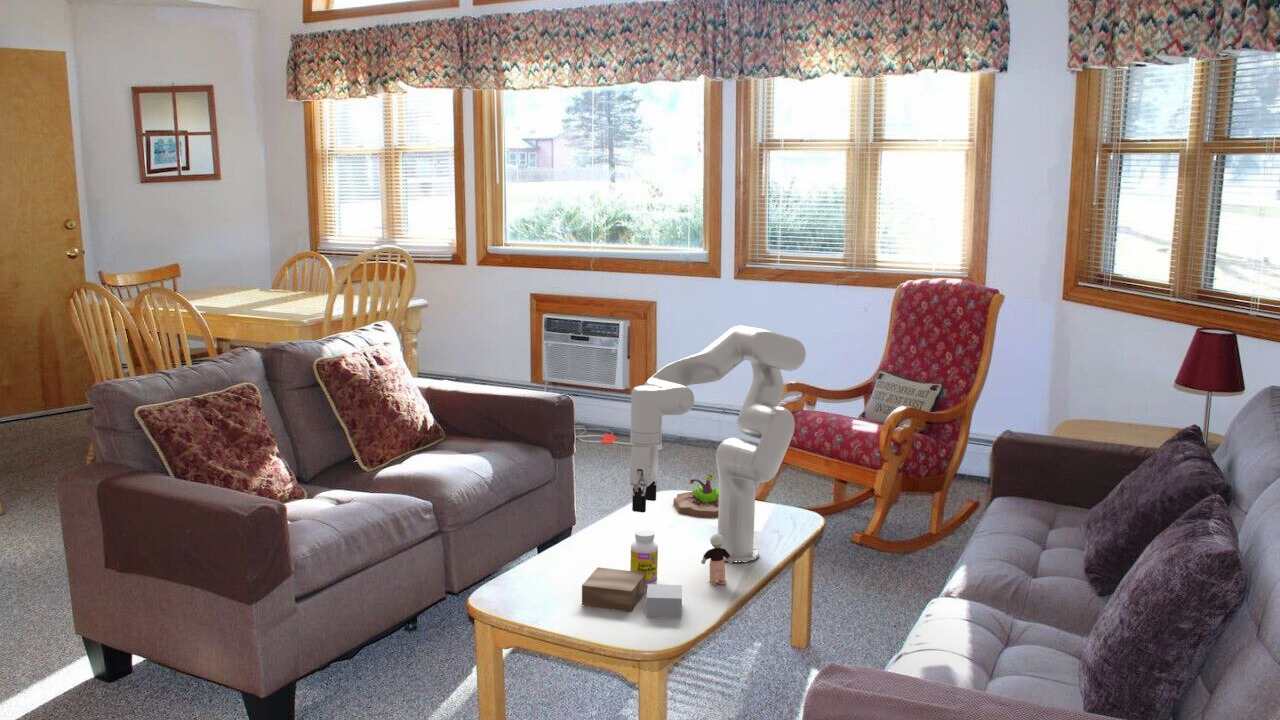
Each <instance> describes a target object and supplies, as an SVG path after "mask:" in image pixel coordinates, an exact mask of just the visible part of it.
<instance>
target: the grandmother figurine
mask: <svg viewBox="0 0 1280 720" xmlns="http://www.w3.org/2000/svg"><path fill="white" fill-rule="evenodd" d="M709 541H710V544H711V546H712V548H713V547H714V549H712V548H710V549H708V550H707V551H705V553H704V554H703V556H702V559H701V561H700V562H701V564H702V565H705V564H706V561H707V560H709V559H710V560H709V580H708V584H709V583H710V584H711V586H712V585H716V586H718V584H719V583H720V584H725V583H726V584H727V580H726V566H725V561H724V559H723V556H724V557H725V558H726V559H727V560H728V562H727V563H728V564H733V563H732V560H731V557H730V555H729V553H728V552H727V551H726V550H725V549H723V548H720V547H721V546H722V544H723V542H724V539H723V536H722V535H721V534H718V533H714V534H713V535H712V536H710V539H709ZM718 582H719V583H718ZM710 584H709V585H710ZM720 584H719V585H720ZM726 584H725V585H726Z"/></svg>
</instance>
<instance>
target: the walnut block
mask: <svg viewBox="0 0 1280 720" xmlns="http://www.w3.org/2000/svg"><path fill="white" fill-rule="evenodd" d="M645 593H646V587H645V573H642V572H634V571H630V570H623V569H615V568H607V567H605V568H604V567H596V568H595V570H594V571H593V572H592V573H591V574H590V576H589V577H588V578H587V579H586V580H585V581H584V583H582V585H581V606H582V605H584V606H583V607H588V606H590V607H591V608H598V609H606V610H612V611H620V612H630V613H632V612H633V610H634V609H635V607H636V606H637V605H638V603H639V602H640V601H641V600H642V598H643V596H644V595H645ZM590 607H589V608H590Z"/></svg>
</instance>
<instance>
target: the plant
mask: <svg viewBox="0 0 1280 720" xmlns="http://www.w3.org/2000/svg"><path fill="white" fill-rule="evenodd" d="M705 479H706V481H705V483H704V482H702V481H701V480H699V479H695V478H692V479H690V480H689V482H688V483H689V485H693V484H694V482H698V483H699V487H698V486H695V489H693V488H690V491H687V492H682V493H677V494H676V497H674V498H673V506H674V508H675V509H676V511H677V512H678V514H681V515H688V516H692V517H696V516H697V517H698V518H712V517H714V518H718V506H719V486H716V487H715V488H712V485H711V481H712V480H714V477H713V475H712V474H710V473H707V475H706V477H705Z"/></svg>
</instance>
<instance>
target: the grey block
mask: <svg viewBox="0 0 1280 720" xmlns="http://www.w3.org/2000/svg"><path fill="white" fill-rule="evenodd" d="M646 588H647V591H646V604H645V605H646V606H645V607H646V611H645V612H646V614H645V616H646V618H653V619H654V618H655V619H656V618H658V619H679V620H680V619H682V618H683V617H682V612H683V610H682V609H683V585H682V584H657V583H656V584H648V587H646Z"/></svg>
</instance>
